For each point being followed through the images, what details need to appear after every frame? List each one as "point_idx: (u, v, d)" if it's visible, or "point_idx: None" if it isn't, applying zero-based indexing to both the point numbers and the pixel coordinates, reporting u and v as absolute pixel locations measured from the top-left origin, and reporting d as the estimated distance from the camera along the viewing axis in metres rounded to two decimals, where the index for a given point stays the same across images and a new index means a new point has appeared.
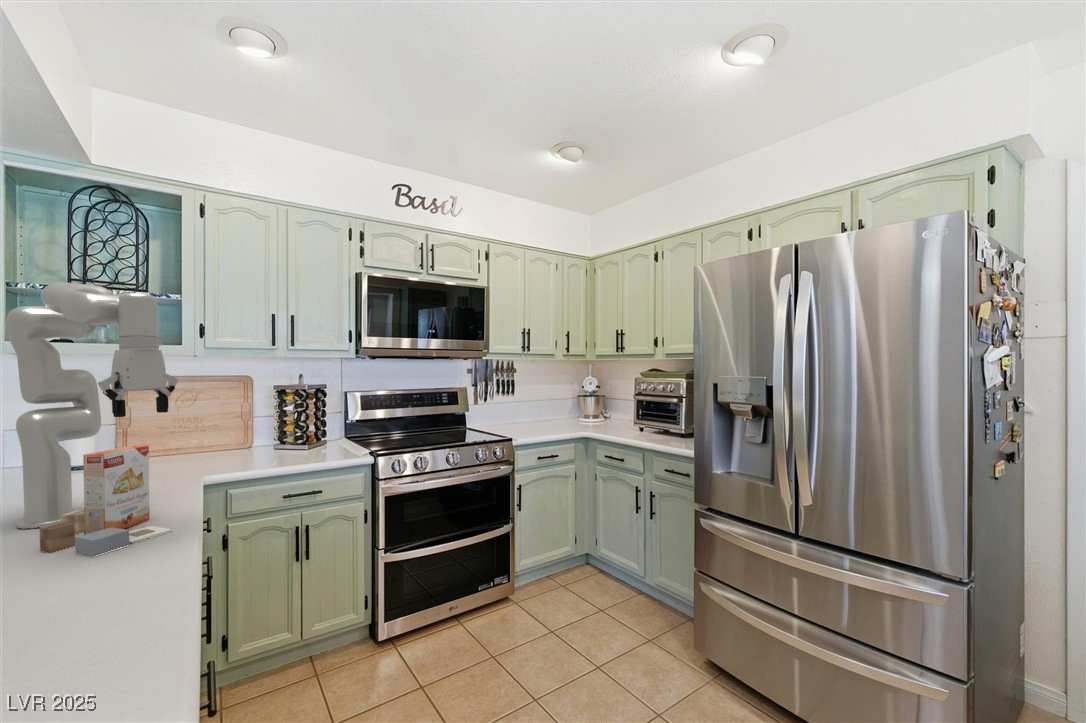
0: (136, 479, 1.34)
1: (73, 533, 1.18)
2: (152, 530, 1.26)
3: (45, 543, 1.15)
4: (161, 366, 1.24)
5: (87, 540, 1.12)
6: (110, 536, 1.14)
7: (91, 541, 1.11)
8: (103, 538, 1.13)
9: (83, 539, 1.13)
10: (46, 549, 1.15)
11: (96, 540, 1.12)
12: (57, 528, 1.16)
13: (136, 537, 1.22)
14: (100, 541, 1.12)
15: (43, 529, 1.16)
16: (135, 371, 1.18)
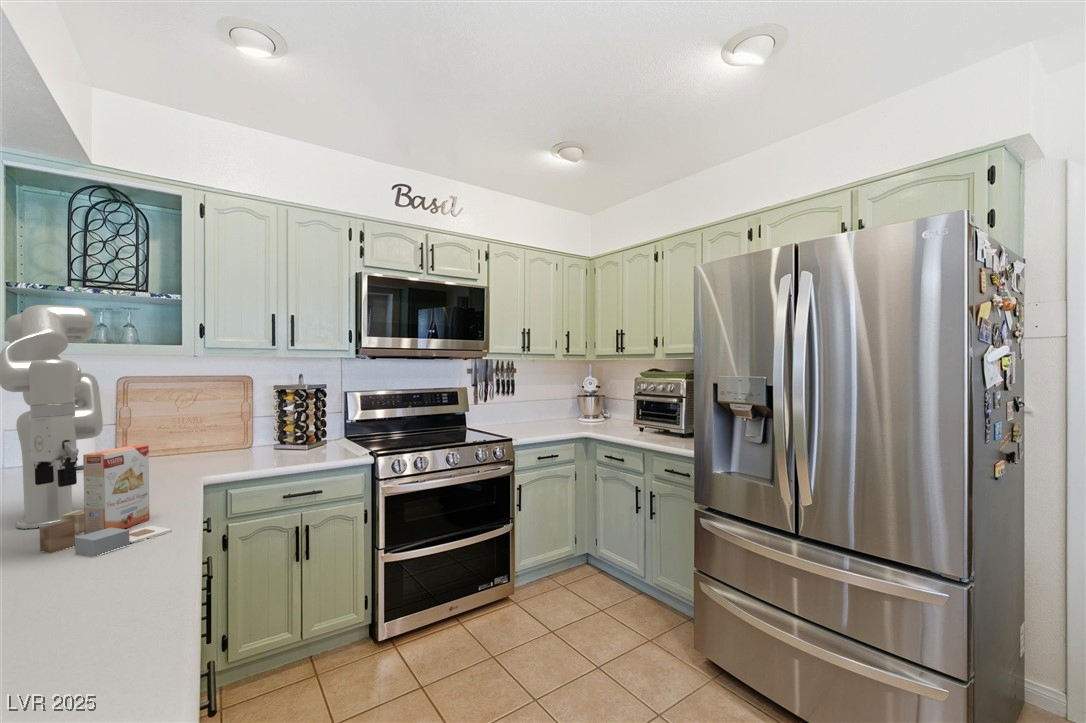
0: (136, 479, 1.34)
1: (73, 533, 1.18)
2: (152, 530, 1.26)
3: (45, 543, 1.15)
4: None
5: (87, 540, 1.12)
6: (111, 536, 1.14)
7: (92, 541, 1.11)
8: (104, 538, 1.13)
9: (83, 539, 1.12)
10: (46, 549, 1.15)
11: (97, 540, 1.12)
12: (57, 528, 1.16)
13: (136, 537, 1.22)
14: (101, 541, 1.12)
15: (43, 529, 1.16)
16: None
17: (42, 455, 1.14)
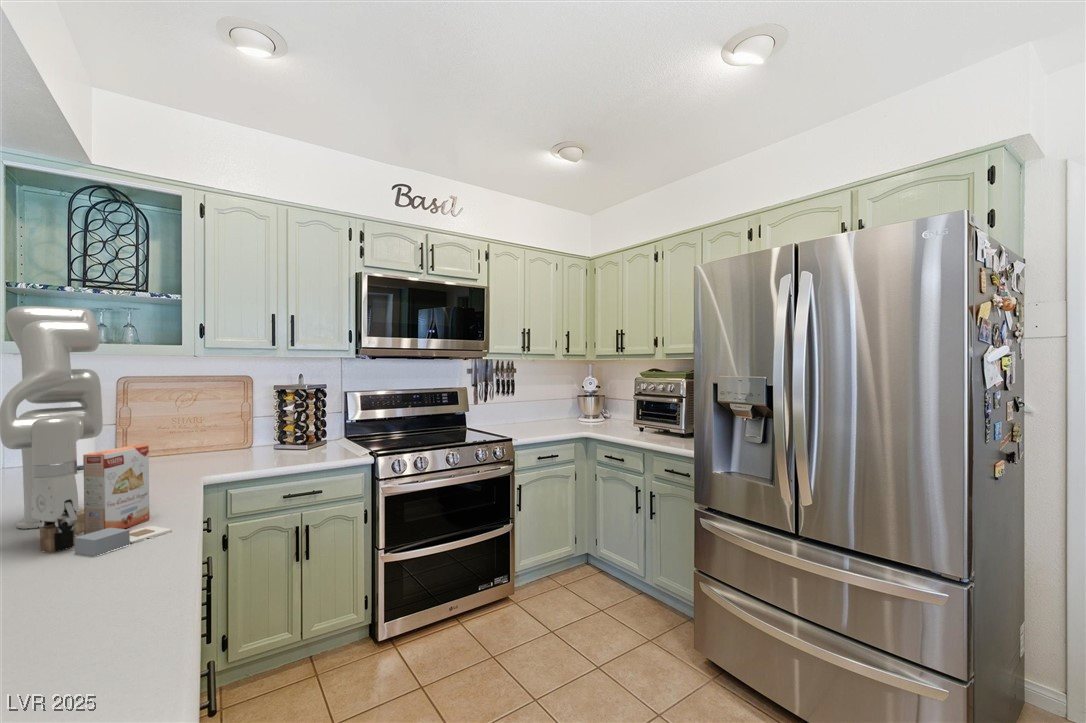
0: (136, 479, 1.34)
1: (73, 533, 1.18)
2: (152, 530, 1.26)
3: (45, 543, 1.15)
4: None
5: (88, 540, 1.12)
6: (111, 536, 1.14)
7: (93, 541, 1.11)
8: (104, 538, 1.13)
9: (84, 539, 1.12)
10: (46, 549, 1.15)
11: (98, 540, 1.12)
12: None
13: (136, 537, 1.22)
14: (101, 541, 1.13)
15: (43, 529, 1.16)
16: None
17: (44, 515, 1.14)
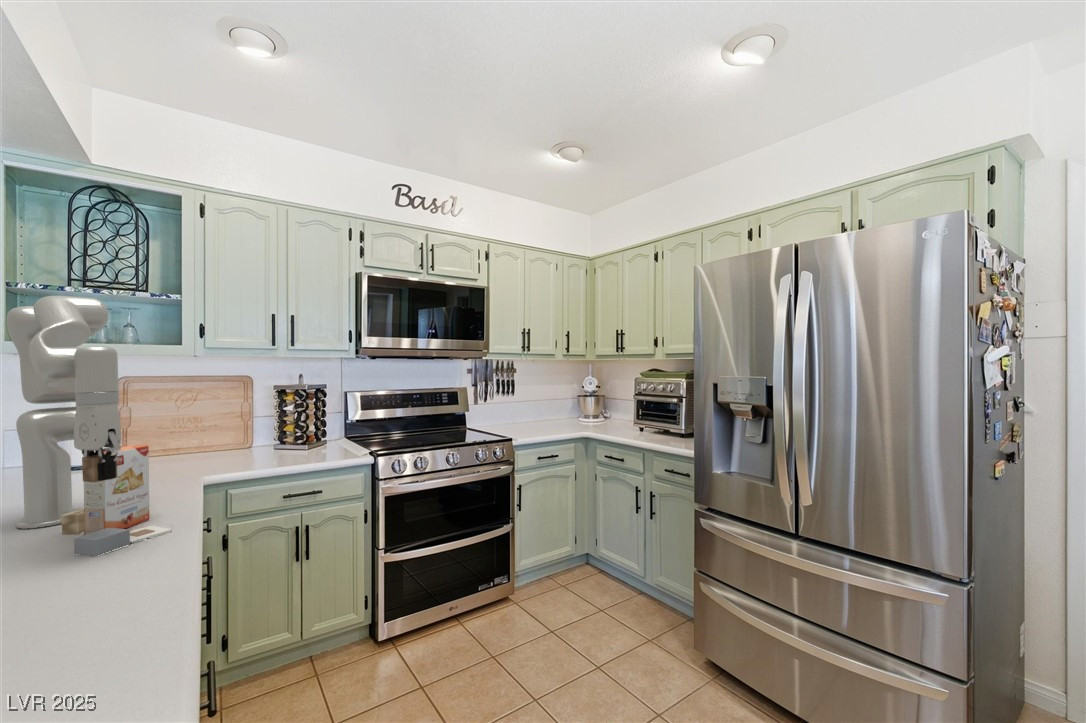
0: (136, 479, 1.34)
1: None
2: (152, 530, 1.26)
3: (88, 472, 1.13)
4: None
5: (89, 540, 1.12)
6: (112, 535, 1.15)
7: (94, 541, 1.11)
8: (105, 538, 1.13)
9: (84, 539, 1.12)
10: (89, 479, 1.13)
11: (99, 540, 1.12)
12: None
13: (136, 537, 1.22)
14: (102, 541, 1.13)
15: (86, 458, 1.14)
16: None
17: (88, 444, 1.12)
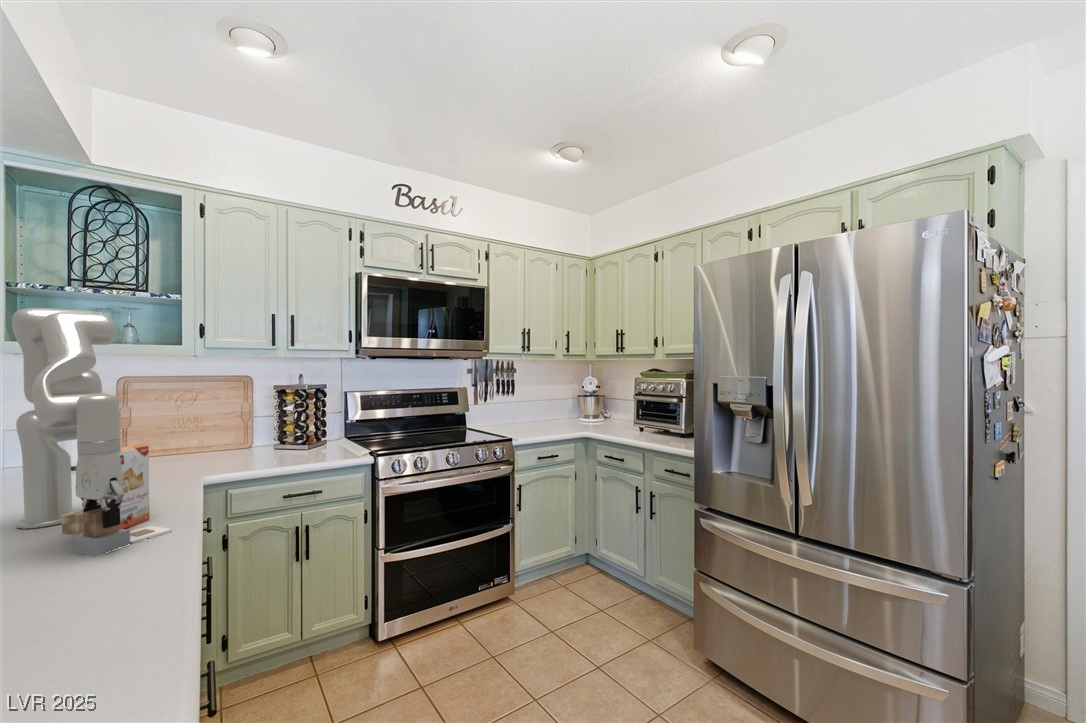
0: (136, 479, 1.34)
1: None
2: (152, 530, 1.26)
3: (90, 528, 1.13)
4: None
5: (89, 540, 1.12)
6: (112, 535, 1.15)
7: (95, 541, 1.12)
8: (106, 537, 1.13)
9: (84, 539, 1.12)
10: (90, 534, 1.13)
11: (100, 540, 1.12)
12: None
13: (136, 537, 1.22)
14: (103, 541, 1.13)
15: (88, 514, 1.14)
16: None
17: (89, 493, 1.12)
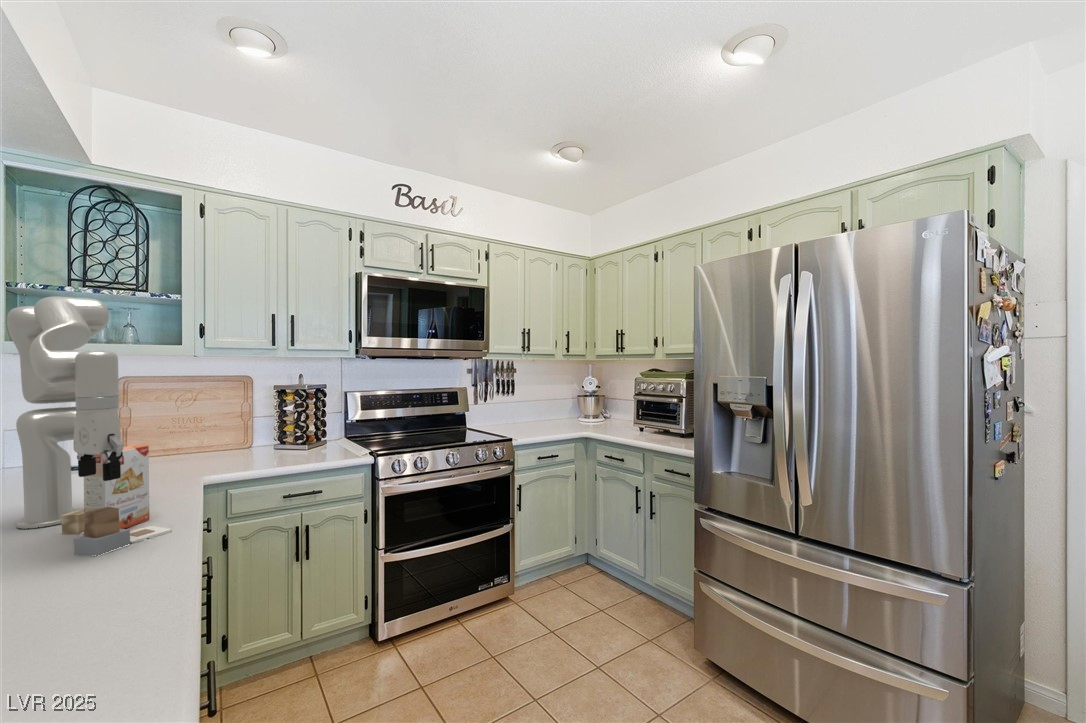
0: (136, 479, 1.34)
1: (117, 518, 1.17)
2: (152, 530, 1.26)
3: (90, 528, 1.13)
4: None
5: (90, 540, 1.12)
6: (113, 535, 1.15)
7: (95, 541, 1.12)
8: (106, 538, 1.13)
9: (84, 539, 1.12)
10: (91, 534, 1.13)
11: (100, 540, 1.12)
12: (102, 513, 1.14)
13: (136, 537, 1.22)
14: (104, 541, 1.13)
15: (88, 514, 1.14)
16: None
17: (87, 448, 1.13)
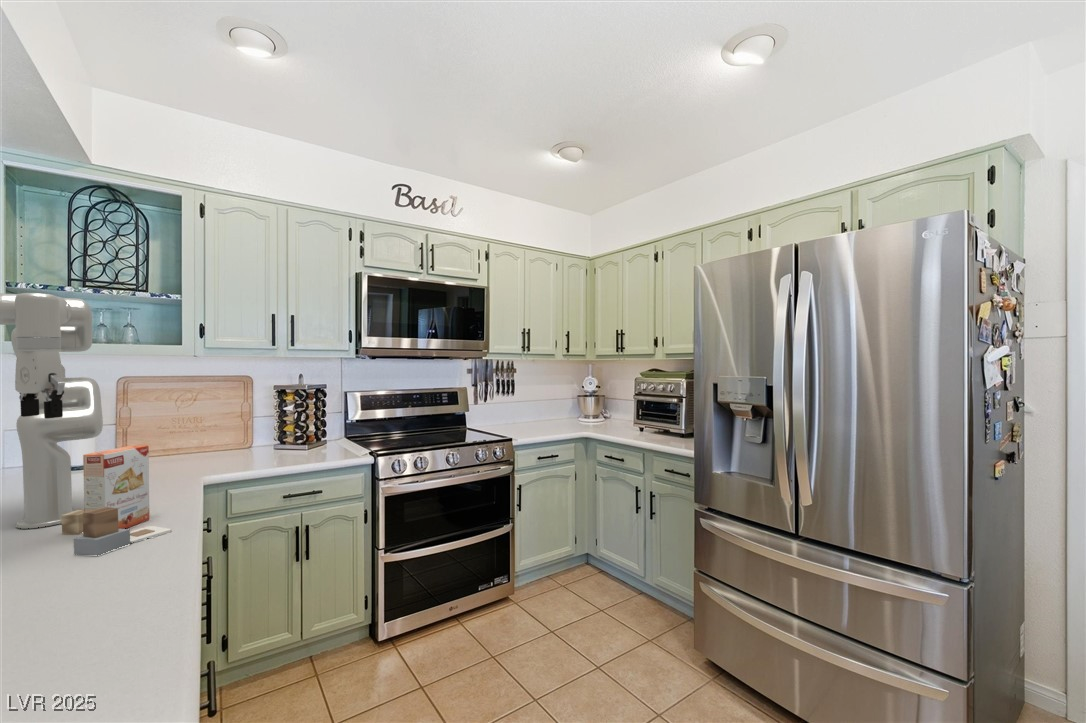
0: (136, 479, 1.34)
1: (116, 518, 1.17)
2: (152, 530, 1.26)
3: (89, 528, 1.13)
4: None
5: (90, 540, 1.12)
6: (113, 535, 1.15)
7: (95, 540, 1.12)
8: (106, 537, 1.13)
9: (84, 539, 1.12)
10: (90, 534, 1.13)
11: (100, 539, 1.12)
12: (102, 512, 1.14)
13: (136, 537, 1.22)
14: (104, 540, 1.13)
15: (87, 514, 1.14)
16: None
17: (28, 387, 1.16)
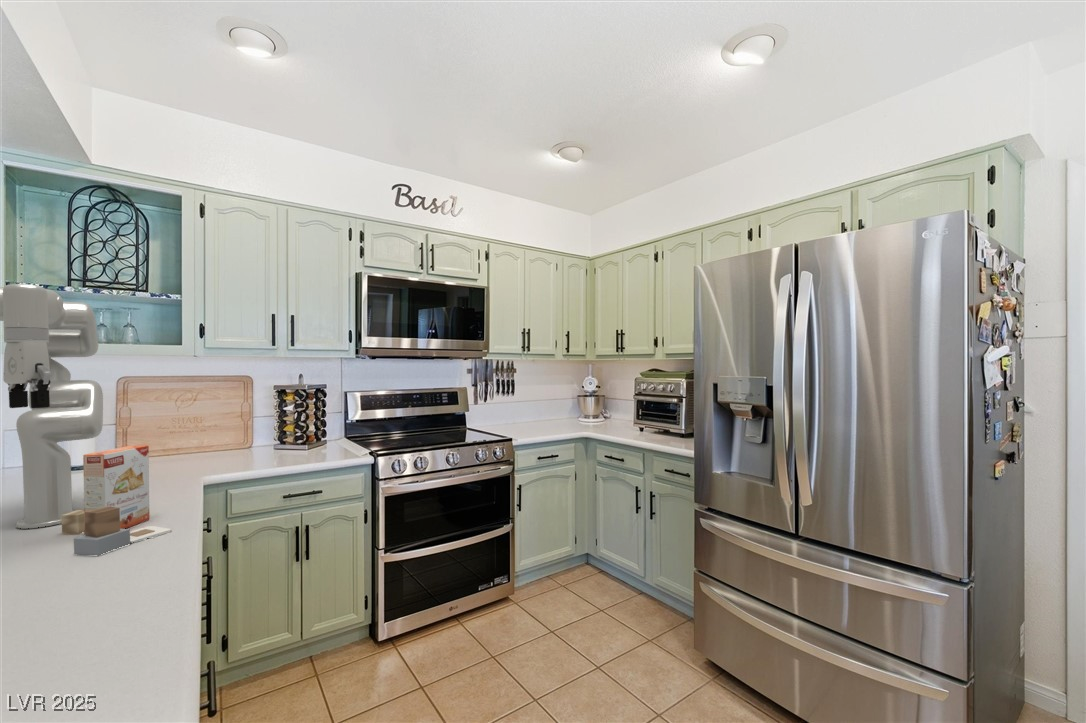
0: (136, 479, 1.34)
1: (118, 518, 1.17)
2: (152, 530, 1.26)
3: (91, 527, 1.14)
4: None
5: (90, 540, 1.12)
6: (113, 535, 1.15)
7: (95, 540, 1.12)
8: (106, 537, 1.14)
9: (84, 539, 1.12)
10: (91, 534, 1.14)
11: (100, 539, 1.12)
12: (103, 512, 1.14)
13: (136, 537, 1.22)
14: (104, 540, 1.13)
15: (89, 513, 1.14)
16: None
17: (15, 377, 1.16)
